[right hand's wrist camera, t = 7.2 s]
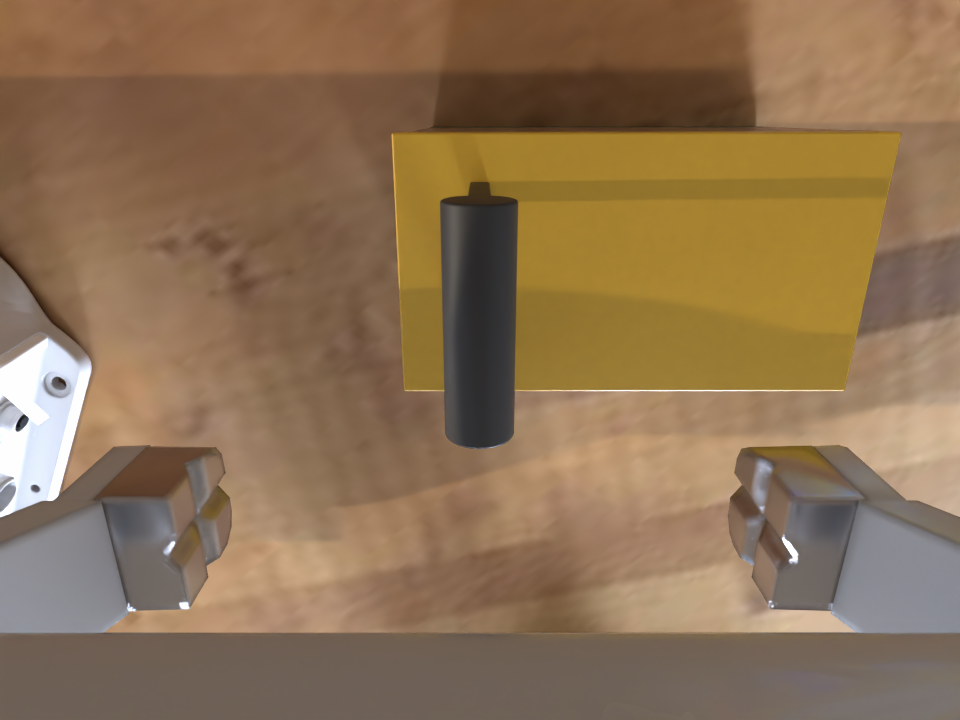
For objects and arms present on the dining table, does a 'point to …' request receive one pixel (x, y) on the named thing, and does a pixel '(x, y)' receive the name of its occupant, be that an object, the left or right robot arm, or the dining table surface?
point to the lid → (631, 262)
